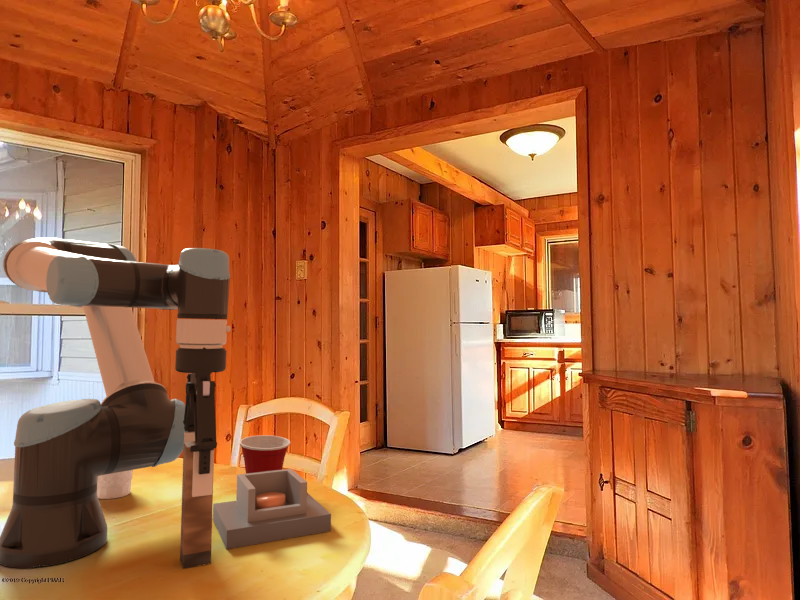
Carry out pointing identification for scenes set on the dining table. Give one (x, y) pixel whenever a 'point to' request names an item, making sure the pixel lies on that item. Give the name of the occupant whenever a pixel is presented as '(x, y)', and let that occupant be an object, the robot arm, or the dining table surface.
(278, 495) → the button
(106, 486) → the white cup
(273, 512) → the switch panel
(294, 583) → the dining table surface
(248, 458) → the plastic cup
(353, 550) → the dining table surface
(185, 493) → the brown wooden block
